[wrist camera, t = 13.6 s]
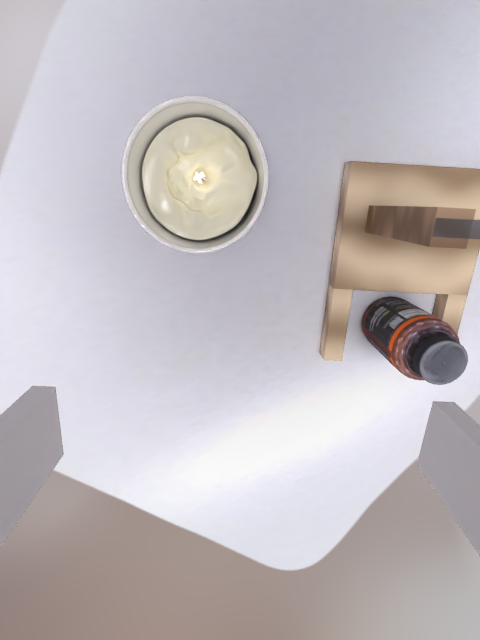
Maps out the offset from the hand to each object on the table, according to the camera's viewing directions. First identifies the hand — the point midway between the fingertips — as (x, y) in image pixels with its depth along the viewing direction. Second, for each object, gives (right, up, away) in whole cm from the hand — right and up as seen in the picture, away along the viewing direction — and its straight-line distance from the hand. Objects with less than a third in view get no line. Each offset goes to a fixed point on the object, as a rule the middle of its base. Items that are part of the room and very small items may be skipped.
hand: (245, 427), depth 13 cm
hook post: (+15, +13, +22) cm, 30 cm away
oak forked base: (+16, +9, +25) cm, 32 cm away
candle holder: (-3, +17, +23) cm, 29 cm away
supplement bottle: (+16, +4, +27) cm, 32 cm away
